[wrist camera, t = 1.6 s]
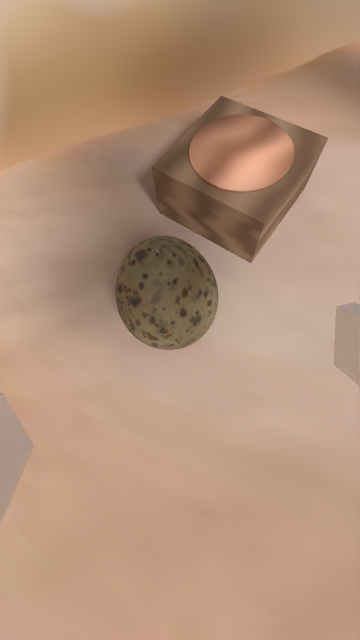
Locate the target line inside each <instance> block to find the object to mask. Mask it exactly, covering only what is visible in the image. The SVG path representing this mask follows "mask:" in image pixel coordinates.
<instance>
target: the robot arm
mask: <svg viewBox="0 0 360 640" xmlns="http://www.w3.org/2000/svg"><path fill="white" fill-rule="evenodd" d="M334 365H335V366H336V367H338V368H339V369H340V370H341V371H342V372H344V373H345V374H346V375H347V376H349V377H350V378H351V379H352V380H353V381H355V382H356V383H357V384H358V385H360V305H359V304H357V303H355V302H354V303H350V304H346V305H342V306H338V307H336V325H335V352H334ZM33 446H34V444H33V442H32V441H31V439H30V438H29V436H28V434H27V433H26V431H25V429H24V428H23V426H22V424H21V423H20V421H19V420H18V418H17V416H16V415H15V413H14V411H13V410H12V408H11V406H10V405H9V403H8V402H7V400H6V398H5V397H4V395H3V393H1V394H0V523H1V521H2V519H3V516H4V514H5V512H6V509H7V507H8V505H9V502H10V500H11V498H12V495H13V493H14V491H15V488H16V486H17V484H18V481H19V479H20V477H21V474H22V472H23V470H24V467H25V465H26V463H27V460H28V458H29V456H30V453H31V451H32V449H33Z"/></svg>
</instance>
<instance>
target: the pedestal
mask: <svg viewBox="0 0 360 640" xmlns="http://www.w3.org/2000/svg"><path fill="white" fill-rule="evenodd" d="M327 140H328V138H327V137H325V136H322V135H320V134H317V133H315V132H312V131H309V130H307V129H304V128H302V127H299V126H297V125H294V124H292V123H289V122H287V121H284V120H282V119H279V118H276V117H274V116H271V115H269V114H266V113H264V112H261V111H259V110H256V109H254V108H251V107H249V106H246V105H243V104H241V103H238V102H236V101H233V100H231V99H228V98H226V97H223V96H221V97H220V98H219V99H218V100H217V101H216V102H215V103H214V104H213V105H212V106H211V107H210V108H209V109H208V110H207V111H206V112H205V113H204V114H203V115H202V116H201V117H200V118H199V119H198V120H197V122H196V123H195V124H194V125H193V126H192V127H191V128H190V129H189V130H188V131H187V132H186V133H185V134H184V135H183V136H182V137H181V138H180V139H179V140H178V141H177V142H176V143H175V144H174V145H173V146H172V147H171V148H170V149H169V150H168V152H167V153H166V154H165V155H164V156H163V157H162V158H161V159H160V160H159V161H158V162H157V163H156V164H155V165H154V166H153V167H152V169H153V175H154V181H155V187H156V192H157V198H158V204H159V210H160V213H161V214H163V215H165V216H167V217H169V218H170V219H172V220H174V221H176V222H178V223H179V224H181V225H183V226H185V227H187V228H189V229H190V230H192V231H194V232H196V233H198V234H199V235H201V236H203V237H205V238H207V239H208V240H210V241H212V242H214V243H216V244H217V245H219V246H221V247H223V248H225V249H227V250H228V251H230V252H232V253H234V254H236V255H237V256H239V257H241V258H243V259H245V260H246V261H248V262H250V263H251V262H252V261H253V259H254V258H255V256H256V255H257V254H258V252H259V251H260V249H261V248H262V247H263V245H264V244H265V243H266V241H267V240H268V238H269V237H270V236H271V234H272V233H273V231H274V230H275V229H276V227H277V226H278V224H279V223H280V222H281V220H282V219H283V218H284V216H285V215H286V213H287V212H288V211H289V209H290V208H291V206H292V205H293V204H294V202H295V201H296V199H297V198H298V197H299V195H300V194H301V193H302V191H303V190H304V188H305V186H306V184H307V182H308V180H309V178H310V176H311V174H312V171H313V169H314V167H315V165H316V163H317V161H318V159H319V157H320V154H321V152H322V150H323V148H324V146H325V144H326V142H327Z"/></svg>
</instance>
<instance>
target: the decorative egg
mask: <svg viewBox="0 0 360 640" xmlns="http://www.w3.org/2000/svg"><path fill="white" fill-rule="evenodd" d="M116 302H117V307H118V310H119V313H120V316H121V318H122V320H123V322H124V324H125V325H126V327H127V328H128V330H129V331H130V332H131V333H132V334H133V335H134V336H135V337H136V338H137V339H139V340H140V341H141V342H143V343H145V344H147V345H149V346H151V347H154V348H158V349H164V350H173V349H180V348H183V347H186V346H189V345H191V344H192V343H194V342H196V341H197V340H199V339H200V338H201V337H202V336H203V335H204V334H205V333H206V332H207V330H208V329H209V327H210V326H211V324H212V322H213V320H214V318H215V315H216V311H217V307H218V288H217V283H216V279H215V277H214V274H213V272H212V270H211V268H210V266H209V264H208V263H207V261H206V260H205V259H204V257H203V256H202V255H201V254H200V253H199V252H198V251H197V250H196V249H195V248H194V247H193V246H191V245H190V244H188V243H187V242H185V241H183V240H180V239H178V238H174V237H169V236H158V237H153V238H150V239H147V240H145V241H143V242H141V243H140V244H138V245H137V246H136V247H134V248H133V249H132V250H131V251H130V253H129V254H128V255H127V257H126V258H125V260H124V261H123V263H122V265H121V268H120V270H119V273H118V277H117V282H116Z"/></svg>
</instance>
